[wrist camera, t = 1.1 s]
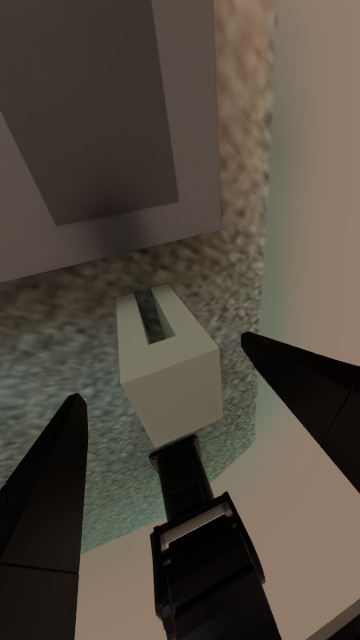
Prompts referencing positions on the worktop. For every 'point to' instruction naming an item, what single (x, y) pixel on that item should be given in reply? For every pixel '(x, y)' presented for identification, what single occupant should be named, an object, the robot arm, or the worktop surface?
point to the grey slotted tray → (104, 129)
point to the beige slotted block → (168, 368)
